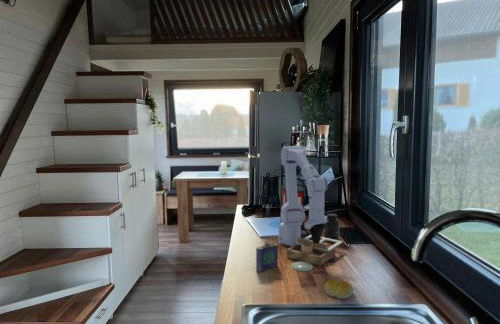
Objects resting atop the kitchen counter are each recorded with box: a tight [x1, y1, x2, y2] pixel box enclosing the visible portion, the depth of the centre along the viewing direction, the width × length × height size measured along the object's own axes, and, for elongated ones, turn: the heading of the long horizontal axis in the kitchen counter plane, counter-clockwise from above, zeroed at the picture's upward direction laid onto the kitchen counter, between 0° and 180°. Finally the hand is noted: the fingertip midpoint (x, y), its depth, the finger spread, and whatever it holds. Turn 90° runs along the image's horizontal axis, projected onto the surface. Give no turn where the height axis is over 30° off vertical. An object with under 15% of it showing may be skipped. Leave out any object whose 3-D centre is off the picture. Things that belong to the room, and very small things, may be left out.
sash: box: [296, 234, 343, 252], centre depth 151 cm, size 15×13×3 cm
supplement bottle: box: [323, 213, 341, 243], centre depth 167 cm, size 7×7×12 cm
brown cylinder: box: [301, 243, 313, 255], centre depth 144 cm, size 4×4×6 cm
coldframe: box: [286, 244, 336, 267], centre depth 146 cm, size 15×13×4 cm
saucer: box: [291, 261, 314, 272], centre depth 136 cm, size 8×8×1 cm
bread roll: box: [323, 278, 354, 300], centre depth 116 cm, size 8×9×4 cm
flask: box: [255, 240, 279, 273], centre depth 134 cm, size 9×3×11 cm, turn 121°
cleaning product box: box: [279, 184, 305, 231], centre depth 190 cm, size 16×9×20 cm, turn 6°
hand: (316, 242), depth 139 cm, fingers closed
